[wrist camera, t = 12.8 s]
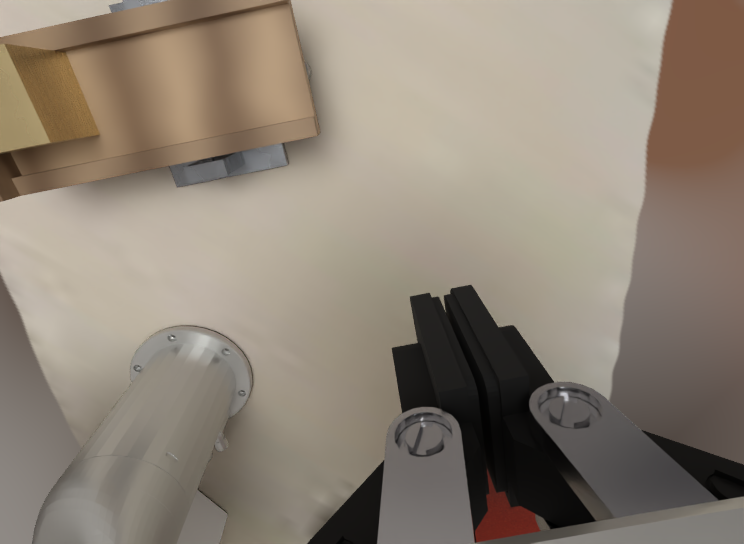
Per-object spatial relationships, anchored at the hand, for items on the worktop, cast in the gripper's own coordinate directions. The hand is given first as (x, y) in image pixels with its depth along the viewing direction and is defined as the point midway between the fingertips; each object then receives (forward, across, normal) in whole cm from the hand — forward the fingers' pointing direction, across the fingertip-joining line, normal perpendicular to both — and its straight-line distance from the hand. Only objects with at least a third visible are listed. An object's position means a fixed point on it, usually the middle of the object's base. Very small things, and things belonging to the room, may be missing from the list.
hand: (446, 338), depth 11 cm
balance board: (+22, +15, -9) cm, 28 cm away
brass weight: (+21, +21, -10) cm, 31 cm away
